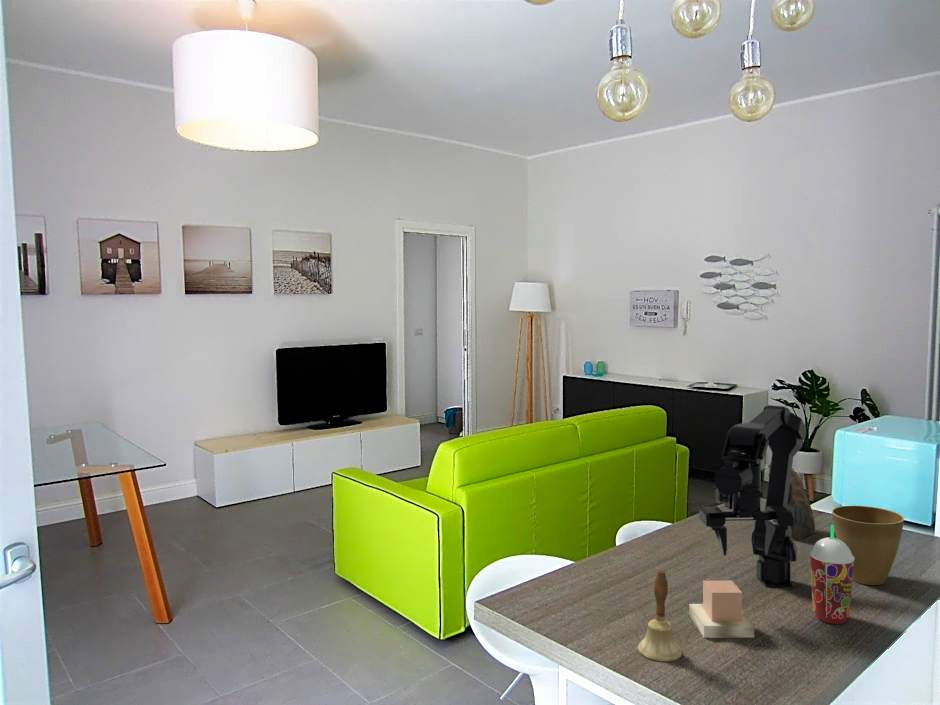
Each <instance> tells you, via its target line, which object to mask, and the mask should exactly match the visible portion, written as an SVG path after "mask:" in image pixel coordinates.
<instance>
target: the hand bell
mask: <svg viewBox="0 0 940 705" xmlns="http://www.w3.org/2000/svg"><path fill="white" fill-rule="evenodd" d="M668 591H669V584H668V580H667V576H666V571H665V570H663V569H658V571H657V572H656V577H655V578H654V583H653V592H654V597H655V601H656V606H655V618H654V619H651V620H649V622H648V623H647V630H646V634H645V636H644V638H643V639H642V640H640V642H639V643H638V645H637V650H638V652H639V654H641V656H643V657H645V658H647V659H648V660H649V659H650V660H653V661H657V662H666V663H667V662H673V661H674V662H675V661H676V660H679V659H680V658H681V657H682V656H683V651H682V648H681V647H680V646H679V644H678V643H677V641H676V640H675V636H674V633H673V626H672V624H671V623H670V622H669V621H668V620H666V619H665V616H666V613H665V611H666V610H665V606H666V605H665V604H666V599H667V597H668Z"/></svg>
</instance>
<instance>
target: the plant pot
mask: <svg viewBox="0 0 940 705" xmlns="http://www.w3.org/2000/svg"><path fill="white" fill-rule="evenodd" d="M831 514H832V515H831V517H832V521H833V525H834V535H835V538H836V539H839V540H841V541H843V542H844V543H845V544H846V545H847V546H848V547H849V549H850V550H851V553H852V555H853V556H854V557H855V559H854V567H853V578H852V582H855V583H859V584H862V585H867V586H881V585H883V584H885V583H886V580H887V578H888V576H889V574H890V572H891V570H892V567H893V565H894V562H895V559H896V556H897V553H898V549H899V546H900V542H901V539H902V538H901V537H902V533H903V529H904V528H903V527H904V522H905V518H904V516H903V515H902V514H901V513H899V512H896V511H894V510H893V511H892V510H890V509H886V508H882V507H875V506H866V505H840V506H836V507H834V508H833V509H831Z"/></svg>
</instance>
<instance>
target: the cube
mask: <svg viewBox="0 0 940 705" xmlns="http://www.w3.org/2000/svg"><path fill="white" fill-rule="evenodd" d="M702 583H703V584H702V586H703V587H702V594H703V595H702V604H703V609H704V610H705V612H706V613H707V615H708V616H709V618H710V619H711V621H742V611H743V592H742V590H740V588H739V587H738V586H737V584H735V582H734V581H733V580H703V581H702Z"/></svg>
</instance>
